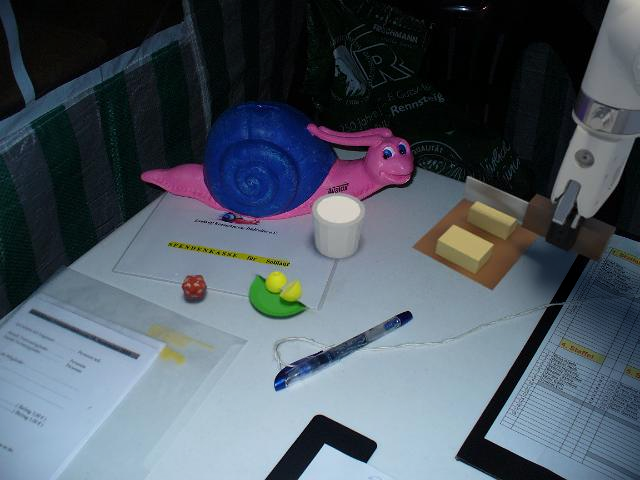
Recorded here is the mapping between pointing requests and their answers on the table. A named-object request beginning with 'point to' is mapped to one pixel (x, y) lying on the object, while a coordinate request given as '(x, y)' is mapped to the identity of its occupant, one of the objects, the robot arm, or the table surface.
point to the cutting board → (503, 250)
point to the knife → (542, 217)
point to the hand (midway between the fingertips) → (563, 238)
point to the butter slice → (491, 220)
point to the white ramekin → (337, 224)
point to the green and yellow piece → (276, 295)
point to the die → (194, 286)
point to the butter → (464, 248)
